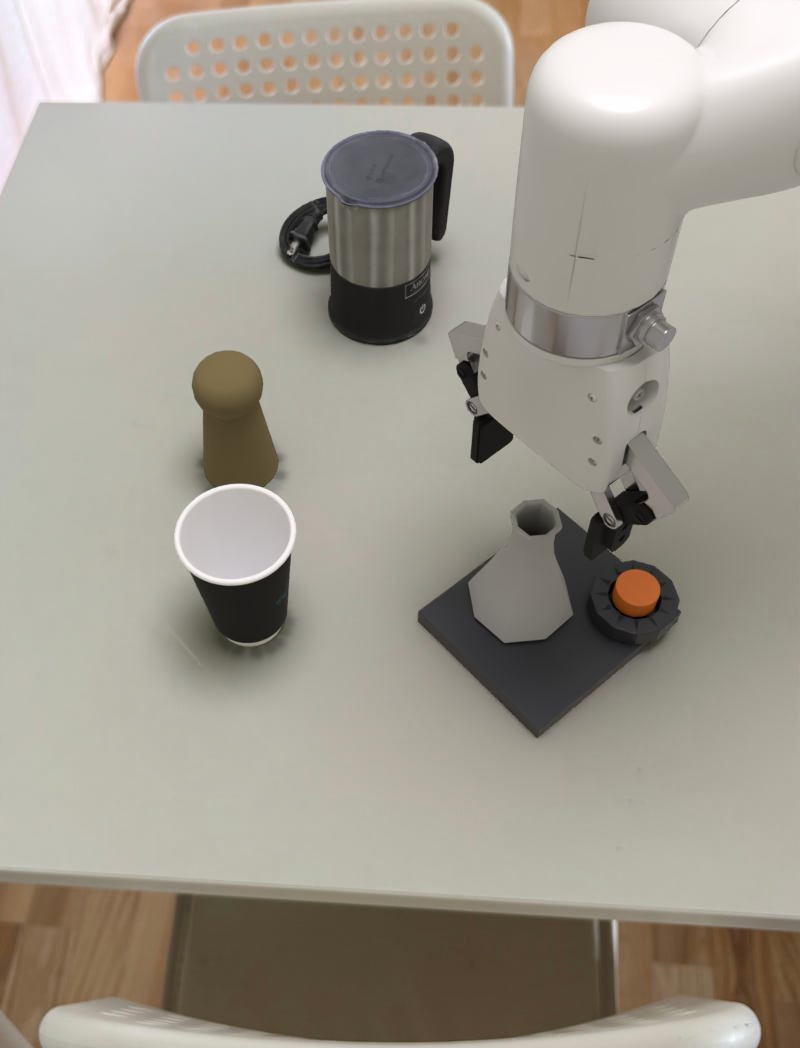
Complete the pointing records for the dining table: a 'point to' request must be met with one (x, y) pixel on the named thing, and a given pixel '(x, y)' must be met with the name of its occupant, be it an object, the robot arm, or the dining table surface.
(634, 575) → the power button
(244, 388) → the brown pawn
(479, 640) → the dark grey base plate
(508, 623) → the flask
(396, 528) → the dining table surface
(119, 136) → the dining table surface
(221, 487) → the dixie cup
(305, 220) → the milk frother
